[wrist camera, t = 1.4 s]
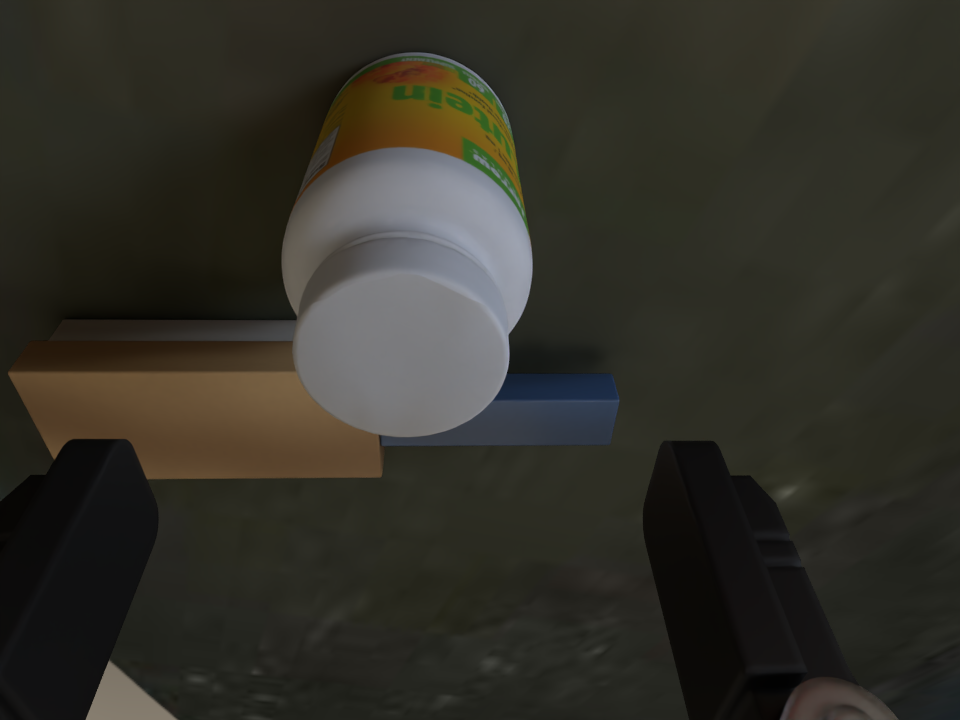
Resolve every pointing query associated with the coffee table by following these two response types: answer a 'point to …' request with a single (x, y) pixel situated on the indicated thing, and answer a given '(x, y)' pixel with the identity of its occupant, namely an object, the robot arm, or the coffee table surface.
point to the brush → (257, 402)
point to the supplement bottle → (408, 249)
